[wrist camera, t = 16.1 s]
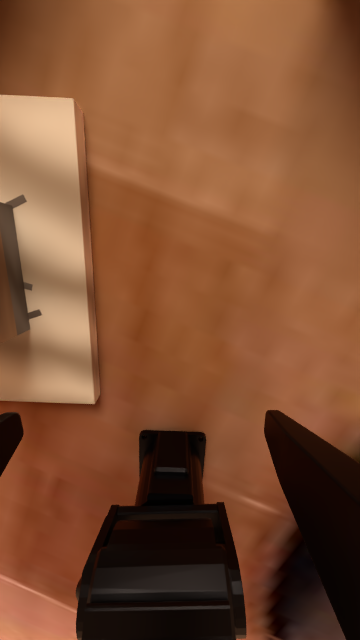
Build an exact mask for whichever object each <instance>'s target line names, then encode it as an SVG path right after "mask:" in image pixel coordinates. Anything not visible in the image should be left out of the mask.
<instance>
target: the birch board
mask: <svg viewBox="0 0 360 640" xmlns="http://www.w3.org/2000/svg"><path fill="white" fill-rule="evenodd" d="M0 202H2V203H5V204H8V205H12V207H13V214H14V221H15V228H16V234H17V241H18V248H19V255H20V262H21V269H22V276H23V282H24V289H25V296H26V303H27V310H28V317H29V323H30V330H28V331H26V332H24V333H22V334H20V335H18V336H16V337H14V338H12V339H10V340H8V341H6V342H3V343H1V344H0V401H24V402H51V403H79V404H95V403H96V401H97V399H98V397H99V396H100V379H99V363H98V347H97V330H96V314H95V297H94V281H93V265H92V248H91V232H90V215H89V199H88V183H87V166H86V150H85V134H84V117H83V112H82V110H81V109H80V107H79V106H78V105H77V103H76V102H75V100H74V99H73V98H57V97H37V96H17V95H0Z"/></svg>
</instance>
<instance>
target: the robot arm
mask: <svg viewBox="0 0 360 640" xmlns="http://www.w3.org/2000/svg"><path fill="white" fill-rule="evenodd" d="M264 434H265V438H266V441H267V444H268V448H269V451H270V454H271V457H272V460H273V464H274V467H275V470H276V473H277V476H278V479H279V482H280V484H281V487H282V489H283V492H284V494H285V497H286V499H287V501H288V504H289V506H290V508H291V511H292V513H293V515H294V518H295V520H296V522H297V525H298V527H299V530H300V532H301V534H302V537H303V539H304V541H305V544H306V546H307V548H308V551H309V553H310V555H311V558H312V560H313V563H314V565H315V567H316V570H317V572H318V574H319V577H320V579H321V581H322V584H323V586H324V589H325V591H326V593H327V596H328V598H329V600H330V603H331V605H332V607H333V610H334V612H335V614H336V617H337V619H338V622H339V624H340V626H341V629H342V631H343V633H344V636H345V638H346V640H360V463H358V462H357V461H355V460H354V459H352V458H351V457H349V456H348V455H346V454H345V453H343V452H342V451H340V450H339V449H337V448H336V447H334V446H332V445H331V444H329V443H328V442H326V441H325V440H323V439H322V438H320V437H319V436H317V435H316V434H314V433H313V432H311V431H310V430H308V429H306V428H305V427H303V426H302V425H300V424H299V423H297V422H296V421H294V420H293V419H291V418H290V417H288V416H287V415H285V414H284V413H282V412H280V411H279V410H268V411H267V412H266V416H265V426H264ZM143 435H145V436H143ZM22 437H23V427H22V422H21V418H20V415H19V413H17V412H7V413H3V414H1V415H0V476H1V475H2V473H3V471H4V469H5V468H6V466H7V464H8V462H9V461H10V459H11V457H12V455H13V454H14V452H15V450H16V448H17V446H18V445H19V443H20V441H21V439H22ZM200 437H202V438H200ZM205 445H206V436H205V434H204V433H202V432H182V431H154V430H143V431H141V432H140V436H139V462H140V480H139V486H138V491H137V497H136V502H135V506H119V505H112V506H111V508H110V510H109V512H108V515H107V516H106V518H105V520H104V522H103V525H102V527H101V529H100V532H99V534H98V536H97V539H96V541H95V543H94V546H93V548H92V550H91V553H90V555H89V557H88V560H87V562H86V564H85V567H84V569H83V573H82V577H81V579H80V580H79V582H78V585H77V588H76V597H77V600H78V608H77V619H76V634H77V639H78V640H236V639H241V638H246V615H245V604H244V595H243V588H242V581H241V575H240V569H239V563H238V558H237V554H236V550H235V545H234V541H233V537H232V533H231V529H230V525H229V521H228V517H227V513H226V509H225V505H224V502H217V504H204V495H203V484H202V479H203V467H204V456H205Z"/></svg>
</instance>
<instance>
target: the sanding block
mask: <svg viewBox="0 0 360 640" xmlns="http://www.w3.org/2000/svg"><path fill="white" fill-rule="evenodd" d="M28 330H30V323H29V317H28V310H27V303H26V296H25V289H24V282H23V276H22V269H21V262H20V255H19V248H18V241H17V234H16V228H15V221H14V214H13V207H12V205H8V204H5V203H2V202H0V344H1V343H3V342H6V341H8V340H10V339H12V338H14V337H16V336H18V335H20V334H22V333H24V332H26V331H28Z"/></svg>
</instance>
